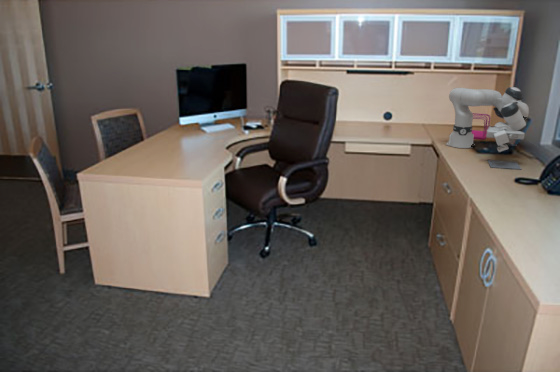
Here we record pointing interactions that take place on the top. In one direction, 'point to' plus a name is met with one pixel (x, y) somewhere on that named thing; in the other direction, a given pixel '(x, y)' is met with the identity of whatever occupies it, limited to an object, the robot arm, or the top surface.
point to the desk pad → (504, 164)
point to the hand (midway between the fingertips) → (506, 137)
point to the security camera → (501, 140)
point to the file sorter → (482, 134)
